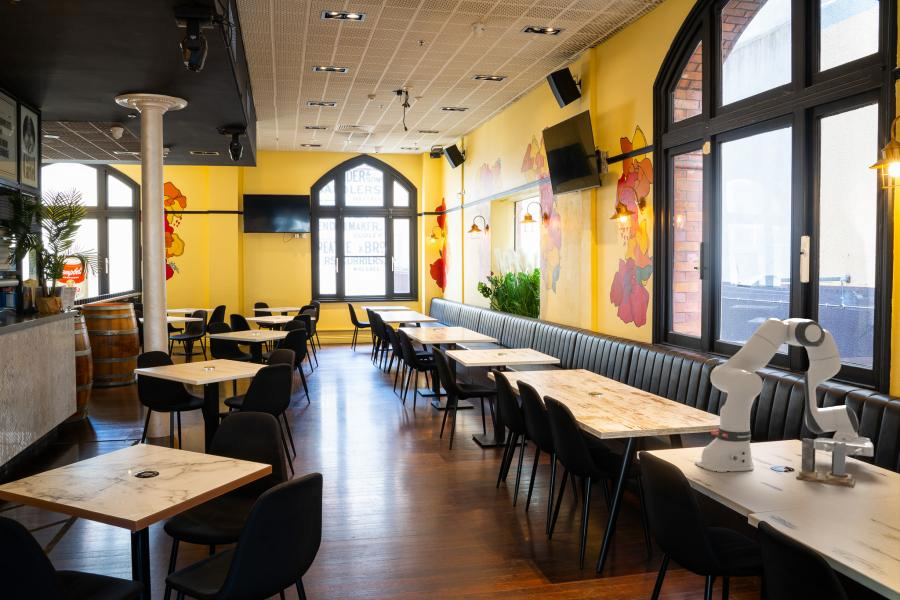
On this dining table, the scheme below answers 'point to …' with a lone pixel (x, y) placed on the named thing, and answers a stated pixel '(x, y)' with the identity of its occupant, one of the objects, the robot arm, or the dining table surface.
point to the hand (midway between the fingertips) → (841, 451)
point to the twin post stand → (811, 474)
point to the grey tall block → (839, 459)
